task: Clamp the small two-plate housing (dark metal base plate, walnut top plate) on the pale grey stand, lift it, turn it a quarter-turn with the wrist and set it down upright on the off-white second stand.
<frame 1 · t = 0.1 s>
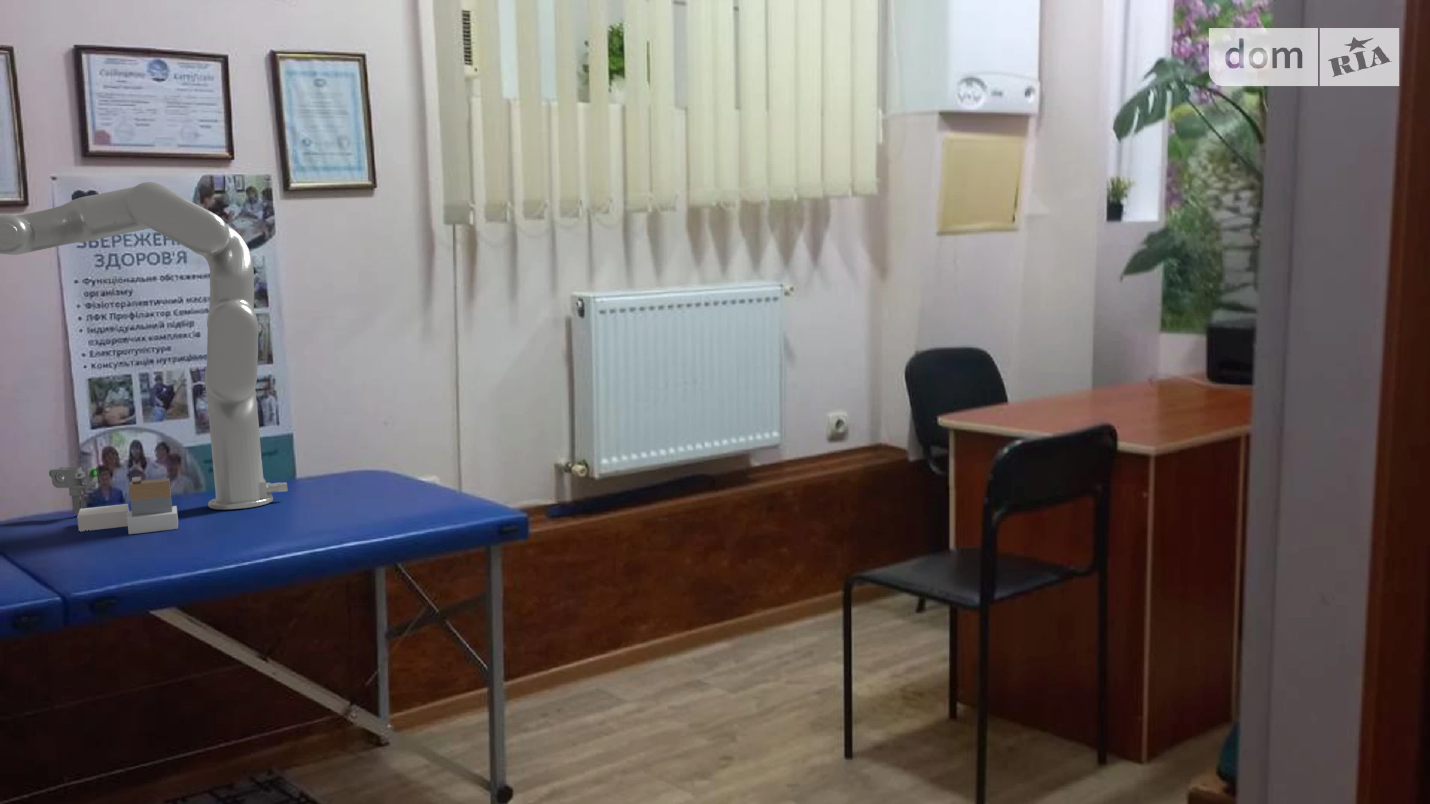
housing: (152, 512, 246), point 3 cm above the table, touching stand A
stand A: (153, 527, 247), on the table
stand B: (104, 524, 252), on the table
mechanical component: (78, 517, 262), on the table
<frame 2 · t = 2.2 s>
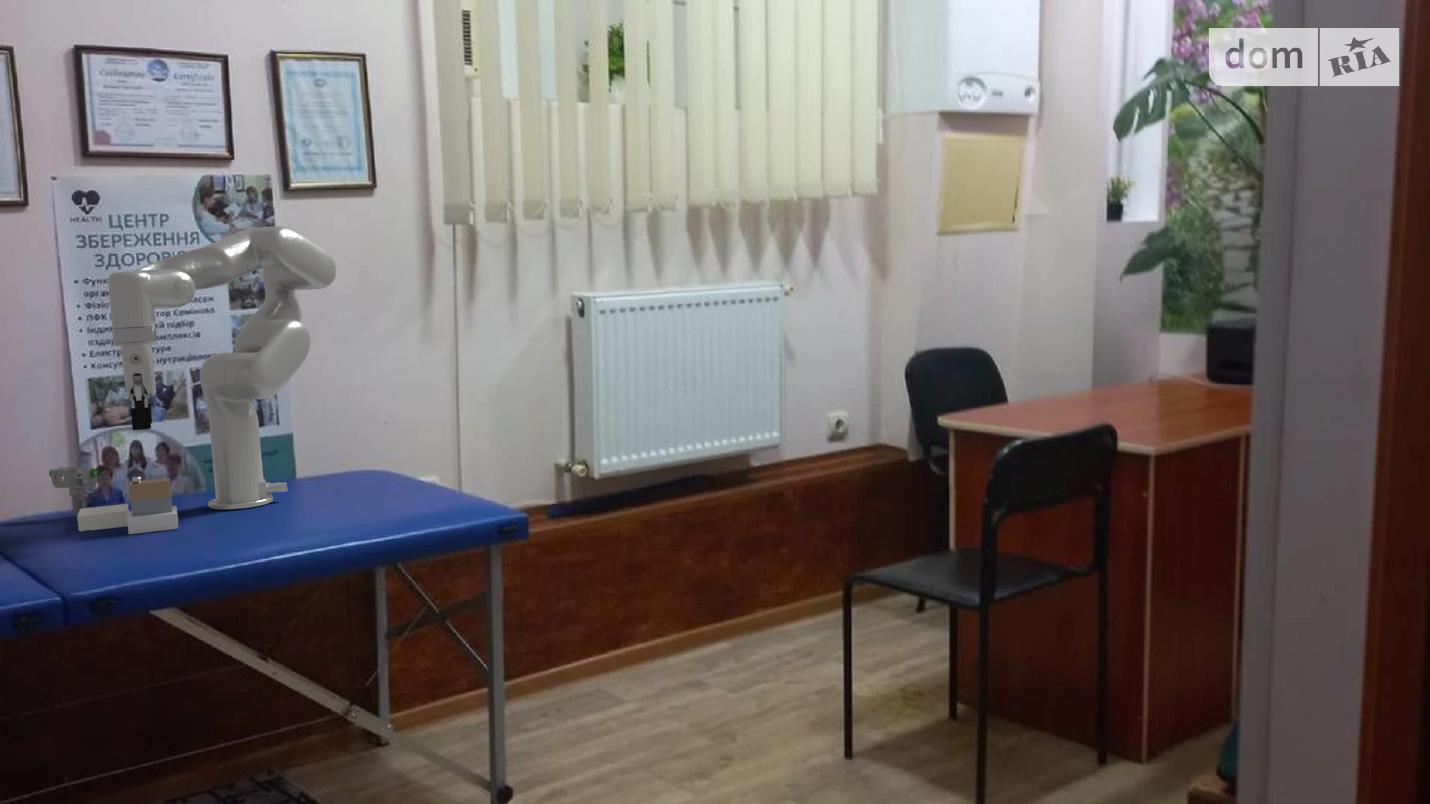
hand: (142, 426, 244), 20 cm above the table, fingers open, 9 cm apart
nothing on the table moved.
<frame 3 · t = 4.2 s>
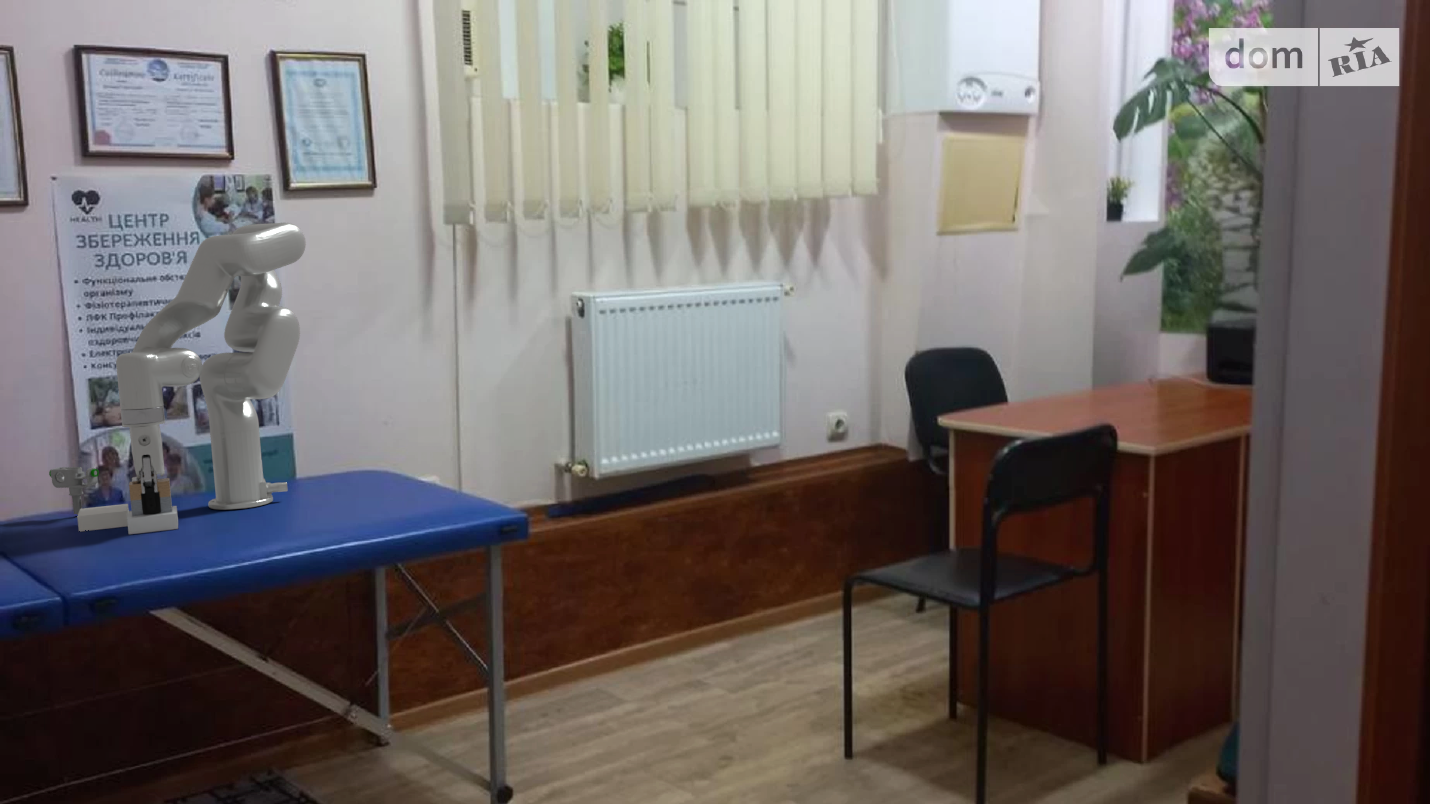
hand: (152, 510, 246), 3 cm above the table, fingers closed on housing, 4 cm apart
housing: (152, 512, 246), point 3 cm above the table, touching gripper, stand A
everything else where it was.
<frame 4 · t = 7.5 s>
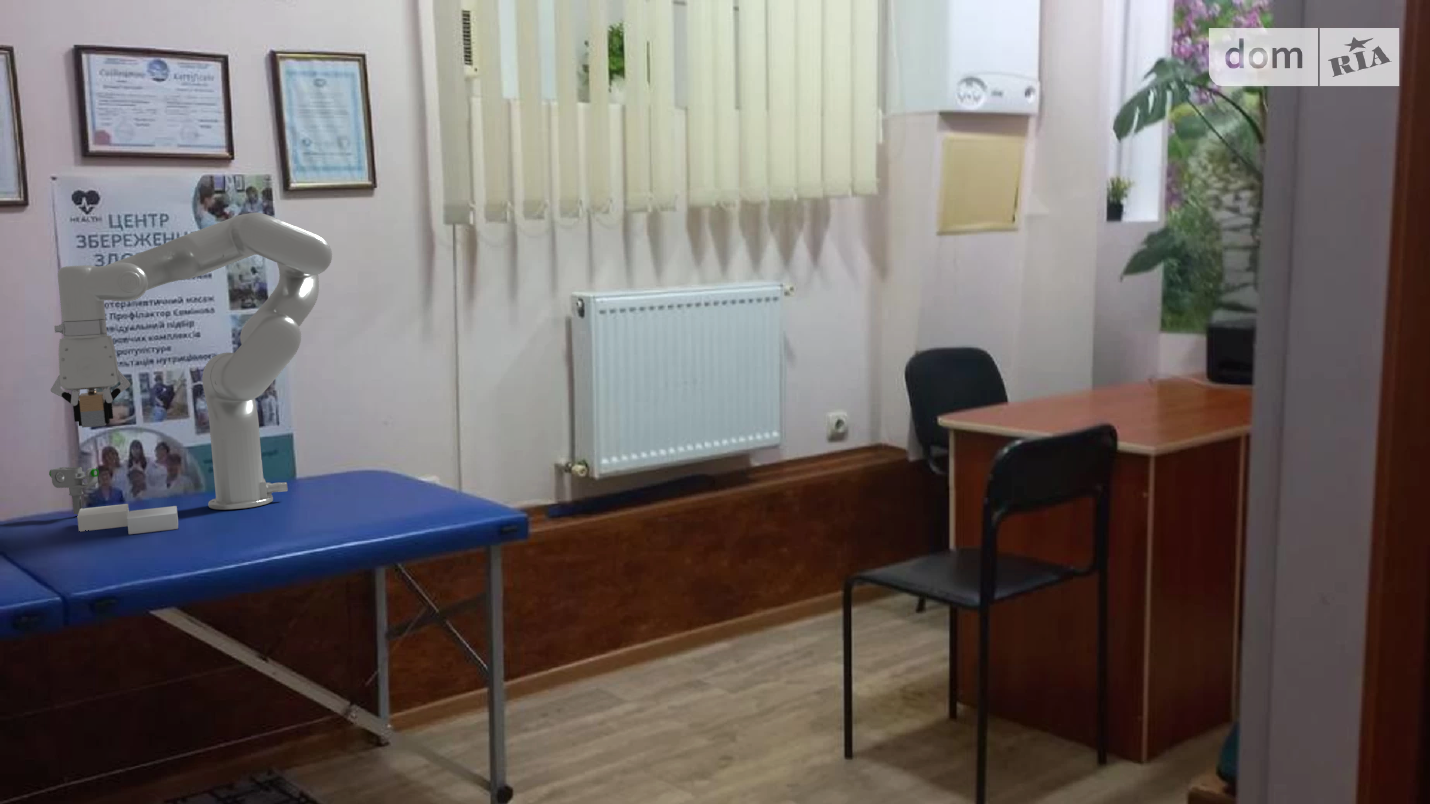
hand: (94, 423, 249), 20 cm above the table, fingers closed on housing, 4 cm apart
housing: (94, 424, 249), point 20 cm above the table, touching gripper
everything else where it was.
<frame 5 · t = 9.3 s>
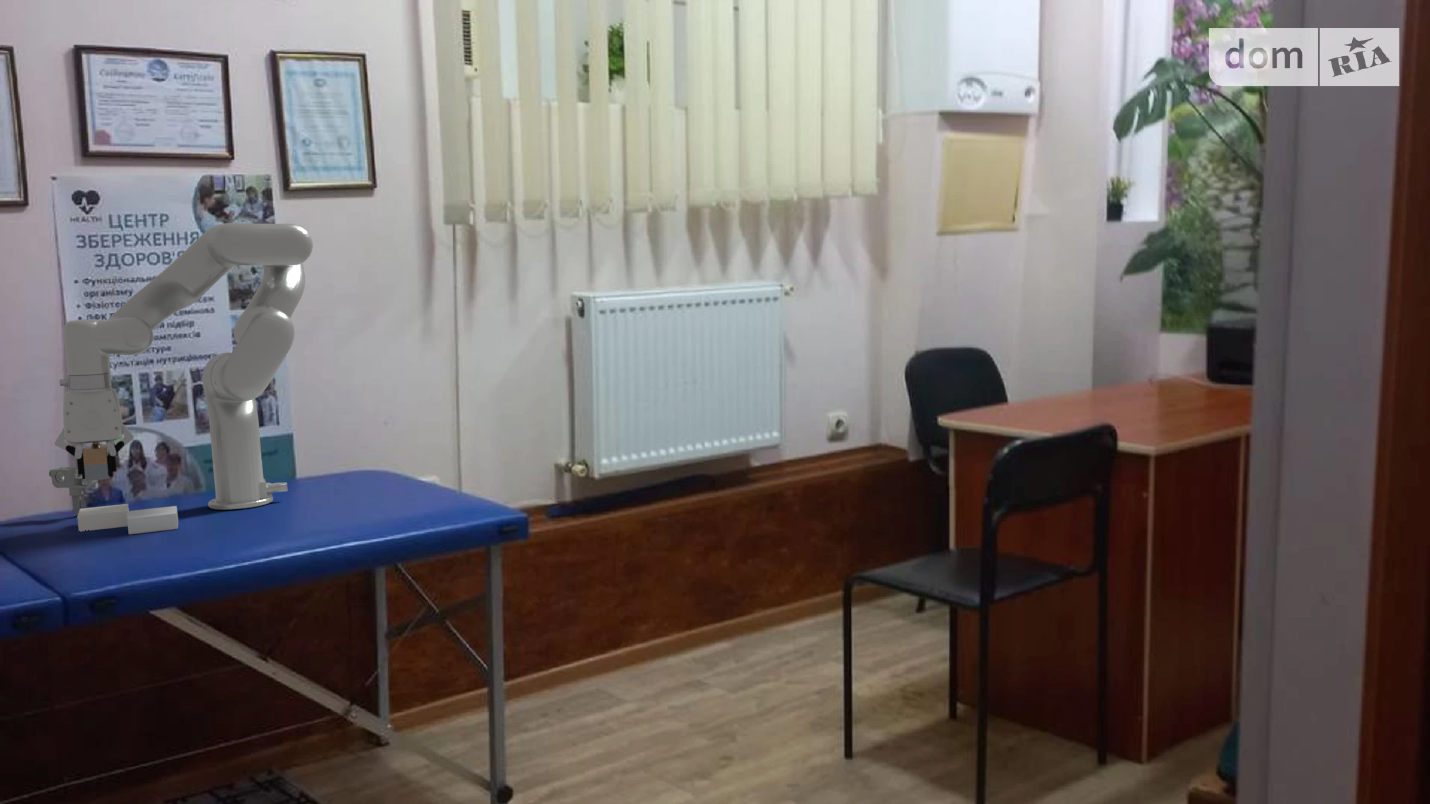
hand: (97, 475, 250), 10 cm above the table, fingers closed on housing, 4 cm apart
housing: (98, 477, 250), point 9 cm above the table, touching gripper
everything else where it was.
when the fingers open (5 cm above the table, at t = 10.6 s): housing drops 1 cm, resting on stand B.
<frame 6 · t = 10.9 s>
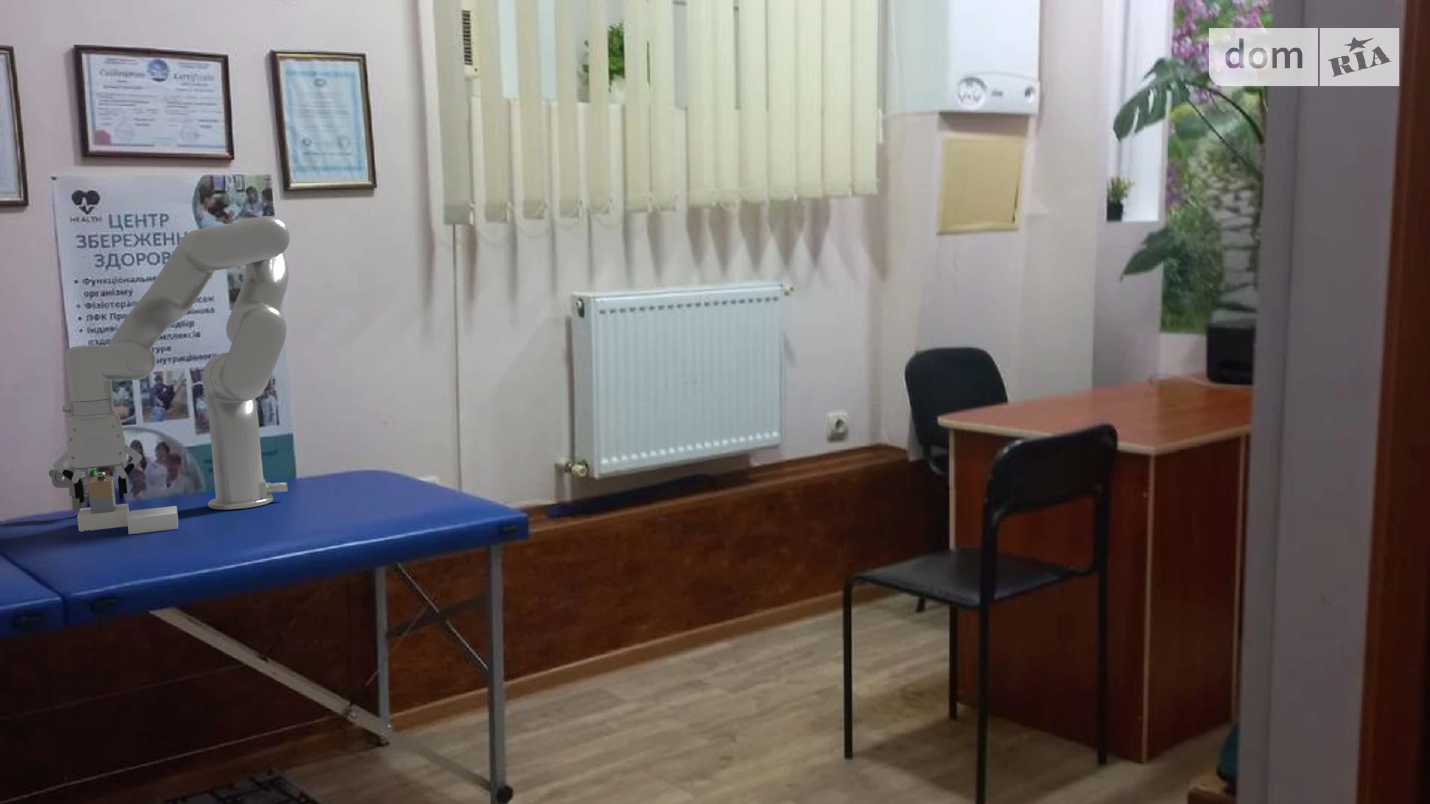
hand: (102, 499, 251), 5 cm above the table, fingers open, 6 cm apart
housing: (103, 509, 251), point 3 cm above the table, touching stand B
everything else where it was.
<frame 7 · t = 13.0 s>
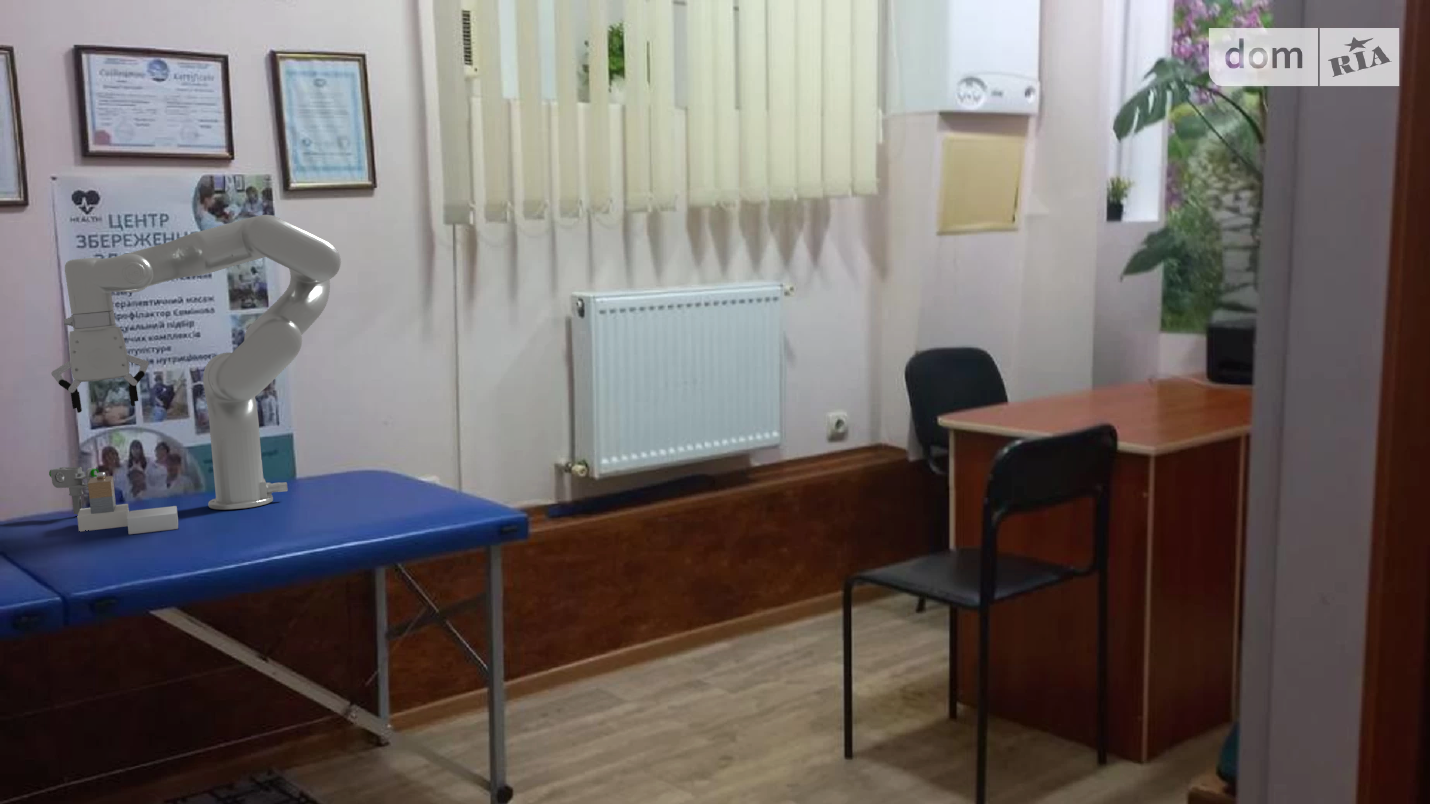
hand: (106, 408, 252), 23 cm above the table, fingers open, 9 cm apart
nothing on the table moved.
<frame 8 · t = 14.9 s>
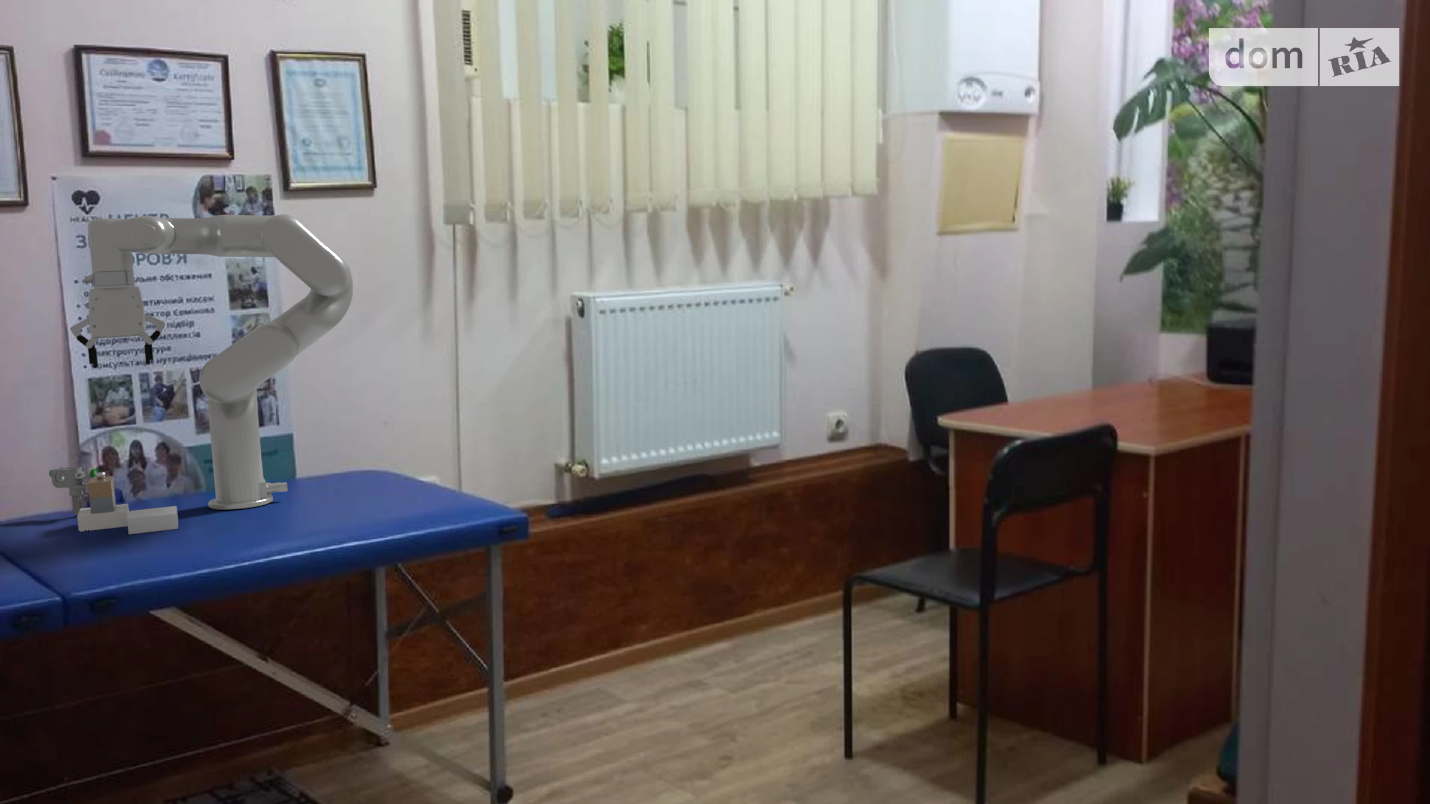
hand: (122, 365, 259), 30 cm above the table, fingers open, 9 cm apart
nothing on the table moved.
at the end: housing 0.1 cm off-centre on the stand B, point 3.0 cm above the stand B's base; housing tilted 0°; the gripper is holding nothing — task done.
